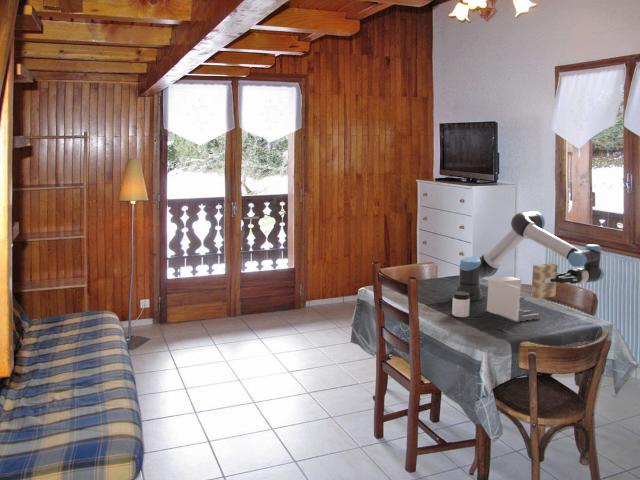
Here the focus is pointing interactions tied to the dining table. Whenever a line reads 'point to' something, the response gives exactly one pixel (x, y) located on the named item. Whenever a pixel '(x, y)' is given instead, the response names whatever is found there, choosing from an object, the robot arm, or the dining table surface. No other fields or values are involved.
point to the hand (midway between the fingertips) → (541, 279)
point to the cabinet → (507, 299)
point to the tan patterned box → (538, 279)
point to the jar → (460, 304)
